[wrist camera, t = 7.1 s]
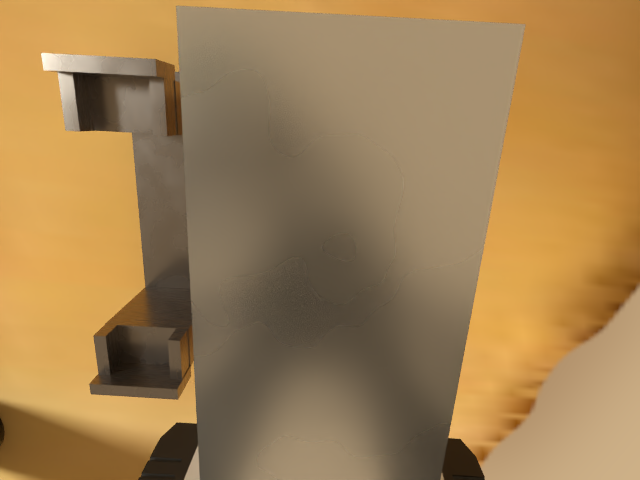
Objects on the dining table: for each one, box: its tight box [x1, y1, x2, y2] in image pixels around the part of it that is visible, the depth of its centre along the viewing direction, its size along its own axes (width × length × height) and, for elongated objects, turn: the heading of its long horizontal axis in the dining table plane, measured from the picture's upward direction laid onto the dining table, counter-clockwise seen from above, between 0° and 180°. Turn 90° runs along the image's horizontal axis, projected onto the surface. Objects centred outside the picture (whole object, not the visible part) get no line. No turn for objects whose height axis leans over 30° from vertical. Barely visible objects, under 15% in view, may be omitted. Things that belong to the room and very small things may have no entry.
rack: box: [41, 53, 194, 400], centre depth 27 cm, size 21×6×10 cm, turn 177°
